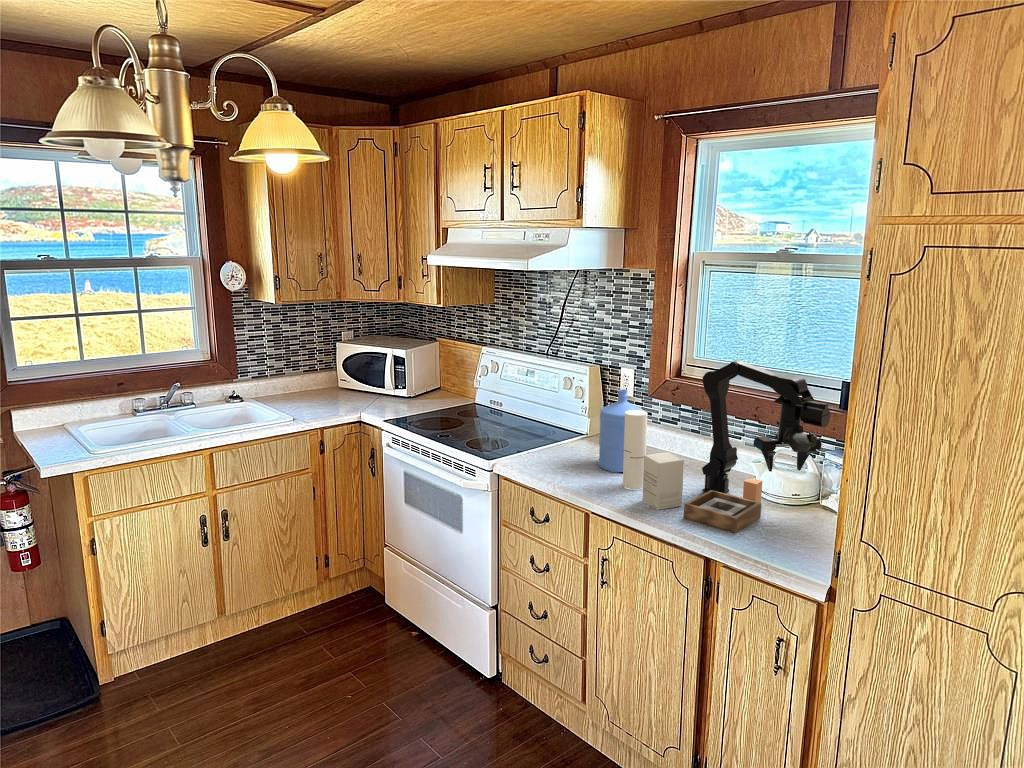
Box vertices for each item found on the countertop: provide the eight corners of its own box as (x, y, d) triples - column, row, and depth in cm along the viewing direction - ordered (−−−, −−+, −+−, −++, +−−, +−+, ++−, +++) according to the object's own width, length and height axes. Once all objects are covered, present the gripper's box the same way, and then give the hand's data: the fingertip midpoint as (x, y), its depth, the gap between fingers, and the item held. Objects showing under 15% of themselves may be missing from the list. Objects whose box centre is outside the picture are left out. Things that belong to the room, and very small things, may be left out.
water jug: (613, 476, 239) (616, 396, 234) (590, 463, 253) (592, 388, 248) (651, 470, 246) (654, 392, 240) (626, 457, 260) (629, 384, 254)
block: (742, 506, 212) (743, 481, 211) (748, 502, 215) (749, 477, 213) (754, 509, 209) (756, 484, 208) (760, 505, 212) (762, 480, 211)
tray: (683, 518, 203) (684, 503, 202) (710, 503, 214) (711, 489, 213) (735, 533, 192) (736, 518, 191) (760, 517, 203) (761, 502, 202)
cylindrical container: (631, 481, 234) (633, 409, 229) (649, 486, 229) (651, 412, 224) (618, 486, 229) (620, 412, 224) (636, 491, 224) (638, 416, 219)
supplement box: (666, 496, 220) (668, 451, 217) (682, 506, 212) (685, 459, 209) (641, 500, 217) (643, 454, 214) (656, 510, 209) (658, 462, 206)
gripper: (775, 428, 193) (769, 481, 197) (836, 426, 196) (829, 479, 200) (755, 417, 204) (750, 468, 207) (813, 416, 207) (807, 466, 210)
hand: (784, 470), depth 206 cm, fingers open, 9 cm apart
